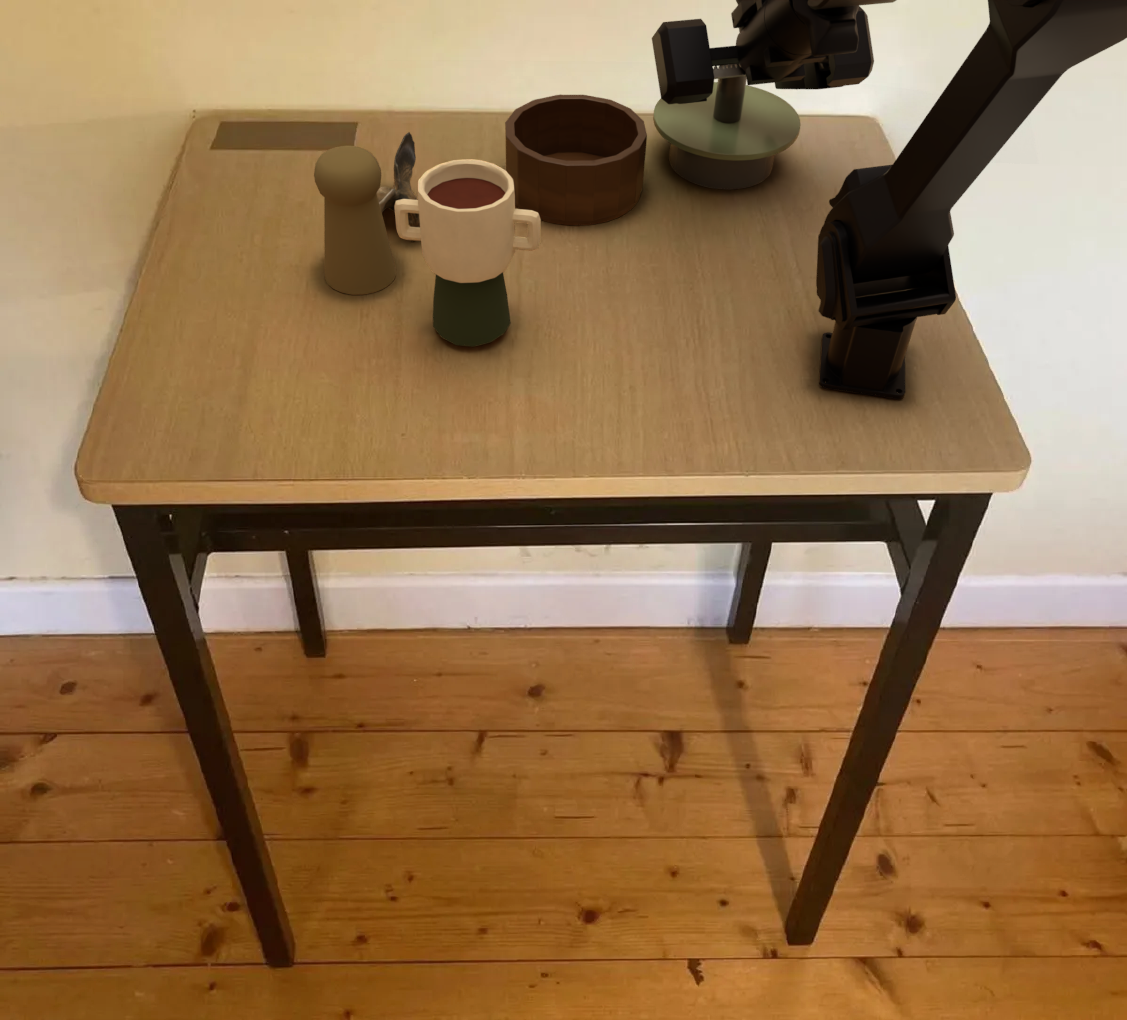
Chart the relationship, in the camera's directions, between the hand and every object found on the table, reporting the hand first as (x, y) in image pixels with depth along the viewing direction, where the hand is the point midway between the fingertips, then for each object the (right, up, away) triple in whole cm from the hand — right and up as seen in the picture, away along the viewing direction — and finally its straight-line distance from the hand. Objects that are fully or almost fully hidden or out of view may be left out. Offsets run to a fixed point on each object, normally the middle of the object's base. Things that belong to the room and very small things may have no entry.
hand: (730, 87), depth 103 cm
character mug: (-23, -24, -13) cm, 36 cm away
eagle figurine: (-30, -13, -2) cm, 33 cm away
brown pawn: (-33, -19, -8) cm, 39 cm away
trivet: (0, -5, +5) cm, 7 cm away
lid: (0, -2, +2) cm, 3 cm away
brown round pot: (-14, -9, +1) cm, 17 cm away
